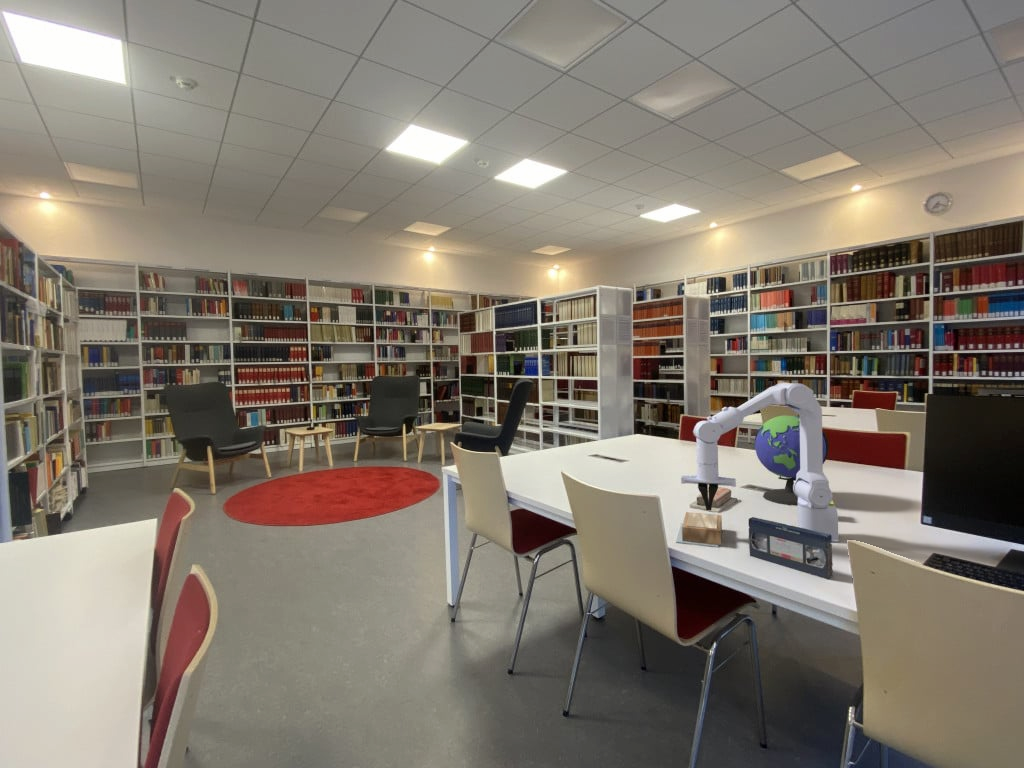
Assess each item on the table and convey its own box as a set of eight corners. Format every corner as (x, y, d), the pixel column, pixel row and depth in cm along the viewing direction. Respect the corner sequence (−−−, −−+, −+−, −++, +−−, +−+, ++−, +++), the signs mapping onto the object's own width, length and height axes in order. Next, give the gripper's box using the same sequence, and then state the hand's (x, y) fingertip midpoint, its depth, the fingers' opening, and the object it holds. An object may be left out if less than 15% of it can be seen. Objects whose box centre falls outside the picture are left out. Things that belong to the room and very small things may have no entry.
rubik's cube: (834, 521, 145) (834, 503, 144) (813, 519, 147) (813, 502, 147) (831, 516, 149) (831, 498, 149) (811, 514, 152) (810, 497, 152)
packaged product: (709, 484, 177) (737, 488, 170) (709, 497, 177) (737, 501, 170) (688, 495, 164) (718, 500, 157) (689, 509, 164) (718, 514, 157)
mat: (719, 527, 143) (719, 526, 143) (718, 547, 129) (718, 546, 129) (681, 524, 148) (681, 523, 148) (675, 542, 133) (675, 541, 133)
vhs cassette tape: (748, 556, 123) (747, 518, 122) (754, 553, 124) (753, 515, 124) (827, 580, 108) (827, 537, 107) (833, 577, 109) (832, 534, 109)
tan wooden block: (721, 514, 142) (686, 511, 146) (720, 530, 129) (681, 526, 133) (721, 528, 142) (686, 524, 146) (721, 545, 129) (682, 541, 134)
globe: (775, 486, 185) (774, 410, 183) (839, 498, 166) (837, 414, 165) (742, 497, 173) (740, 416, 171) (807, 512, 154) (805, 420, 153)
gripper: (735, 461, 137) (736, 507, 137) (682, 458, 143) (683, 503, 143) (735, 466, 130) (736, 514, 131) (679, 463, 137) (681, 510, 137)
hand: (708, 509), depth 137 cm, fingers closed
